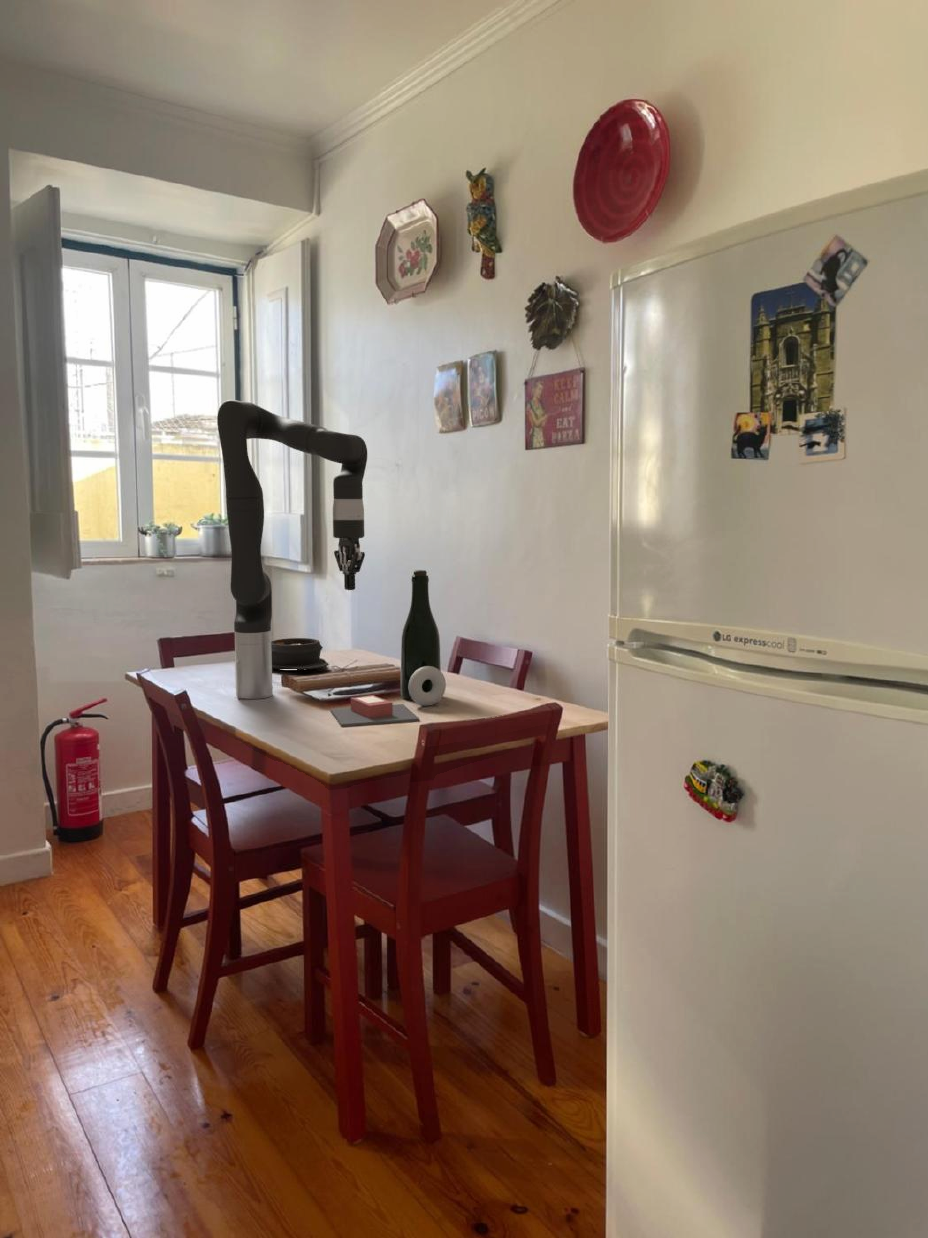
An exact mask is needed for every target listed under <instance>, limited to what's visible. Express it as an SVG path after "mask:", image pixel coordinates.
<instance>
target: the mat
mask: <svg viewBox="0 0 928 1238" xmlns="http://www.w3.org/2000/svg"><path fill="white" fill-rule="evenodd" d="M330 713H331V715H332V716H333V717H334V719H335V720H336V721H337V722H338V725H340V727H341V728H343V727H344V728H345V727H355V726H356V727H357V726H369V725H370V726H371V725H383V724H385V725H386V724H396V723H397V724H399V723H407V722H408V721H412V722H419V721H420V718H419V717H418V716H417V715H416V714H415V713H414V712H413V711H411V710H410V709H409V708H408V706H406V705H404V704H403V703H400V704H393V715H390V716H383V717H376V718H367V717H365V716H363V715H361V714H358V713H356V712H354V711H351V707H339V708H330ZM408 723H409V722H408Z"/></svg>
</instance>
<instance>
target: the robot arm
mask: <svg viewBox="0 0 928 1238" xmlns="http://www.w3.org/2000/svg"><path fill="white" fill-rule="evenodd" d="M216 417H217V419H216V420H217V422H216V423H217V430H218V438H219V442H220V447H221V449H220V450H221V456H222V463H223V472H224V473H223V474H224V475H223V476H224V483H225V504H226V515H227V516H226V517H227V524H228V525H227V527H228V533H229V534H228V535H229V542H230V549H231V566H230V567H231V568H230V569H231V570H230V592H231V595H232V597H233V599H234V600H235V606H236V607H235V618H234V621H233V627H234V631H233V632H234V654H235V655H234V656H235V658H234V670H235V671H234V673H235V675H234V676H235V696H236V699H237V698H245V699H244V700H257V699H265V698H269V697H272V696H273V694H274V692H273V691H274V690H273V685H274V684H273V667H272V650H271V641H272V630H271V629H272V627H271V626H272V618H273V606H272V605H273V597H272V596H273V593H272V588H273V587H272V582H271V579H270V577H269V575H268V574H267V573H266V572H265V571H264V569H263V568H264V567H263V562H262V551H261V550H262V539H263V533H264V532H263V531H264V524H265V504H264V503H265V501H264V491H263V488H262V485H261V483H260V481H259V478H258V477H257V474H256V472H255V470H254V468H253V466H252V464H251V461H250V457H249V452H248V442H247V440H251V439H256V440H257V439H260V440H268V441H269V440H270V441H275V442H278V443H280V444H283V445H284V446H286V447H289V448H291V449H293V450H297V451H299V452H302V453H306V454H309V455H313V456H318V457H320V458H323V459H325V460H327V461H330V462H334V463H336V464H341V468H340V473H338V474H337V475H335V477H334V478H333V482H332V483H333V484H332V487H333V488H332V489H333V490H332V491H333V495H332V496H333V500H332V501H333V503H332V536H333V538H335V539H338V545H337V546H338V548H337V550H334V552H333V555H334V557H335V560H336V563H337V567H338V569H339V572H341V573H342V574H343V575H344V576H343V577H344V578H343V580H344V581H343V582H344V583H343V584H344V590H345V591H346V590H347V591H353V590H354V591H355V589H356V575H357V573H360V571H361V568H362V566H363V562H364V559H365V555H366V553H365V552H364V551H361V550H360V549H361V548H360V547H361V545H360V539H363V538H365V508H364V507H365V506H364V505H365V504H364V498H363V497H364V496H363V493H364V492H363V491H364V490H363V489H364V488H363V487H364V485H363V480H364V477H365V471H366V467H367V464H368V463H367V461H368V448H367V444H366V442H365V440H364V439H363V438H362V437H360V435H356V434H351V433H350V434H349V433H343V432H339V431H338V432H336V431H332V430H330V429H329V430H328V429H327V428H325V427H322V426H320V425H317V424H316V425H315V424H313V423H310V422H305V421H301V420H296V419H291V418H288V417H287V418H286V417H283V416H280V415H278V414H275V413H273V412H271V411H269V410H267V409H265V408H263V407H261V406H259V405H257V404H255V403H253V402H248V401H243V400H236V399H228V400H225V401H224V402H222V404H221V405H220V406H219V408H218V412H217V416H216Z"/></svg>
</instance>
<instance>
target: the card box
mask: <svg viewBox="0 0 928 1238" xmlns="http://www.w3.org/2000/svg"><path fill="white" fill-rule="evenodd" d="M393 705H394V704H393V702H392V701H389V700H387V699H385V698H381V697H380V696H379V697H378V696H376V695H373V694H371V695H362V696H357V697H356V696H355V697H350V708H351V711H354V712H356V713H358V714H361V715H363V716H365V717H367V718H376V717H383V716H390V715H393Z"/></svg>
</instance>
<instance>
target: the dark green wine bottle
mask: <svg viewBox="0 0 928 1238" xmlns="http://www.w3.org/2000/svg"><path fill="white" fill-rule="evenodd" d="M427 574H428V572H427V570H426V569H425V570H423V569H417V570H414V571H413V575H411V602H410V607H409V611H408V614H407V618H406V620H405V623H404V626H403V629H402V633H401V641H400V643H401V644H400V695H401V697H402V698H403V699H405V700H408V701H414V700H413V699H412V698H411V696H410V694H409V689H408V686H409V680H410V678H411V676H412V674H413V673H414V672H415V671H416V670H418V669H419V668H421V667H424V666H433V667H435V668H437V669H439V670H440V671H441V672H442V665H441V664H442V663H441V662H442V660H441V659H442V658H441V657H442V656H441V638H440V636H441V635H440V633H439V628H438V625H437V623H436V620H435V617H434V614H433V612H432V608H431V604H430V603H431V601H430V594H429V581H430V578H429V575H427ZM432 687H433V683H432V681H431V680H429V679H427V680H425V681H424V682H423V684H422V690H423V691H424V692H426V693H427V692H429V691H431V689H432Z"/></svg>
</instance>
